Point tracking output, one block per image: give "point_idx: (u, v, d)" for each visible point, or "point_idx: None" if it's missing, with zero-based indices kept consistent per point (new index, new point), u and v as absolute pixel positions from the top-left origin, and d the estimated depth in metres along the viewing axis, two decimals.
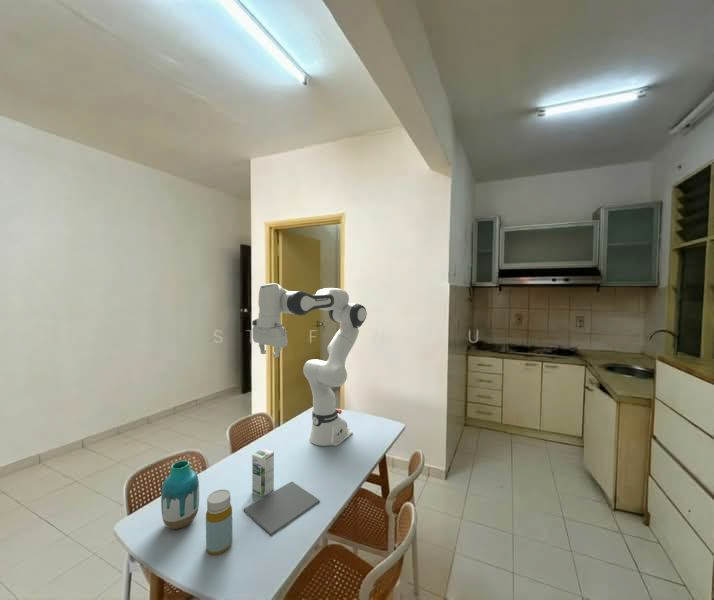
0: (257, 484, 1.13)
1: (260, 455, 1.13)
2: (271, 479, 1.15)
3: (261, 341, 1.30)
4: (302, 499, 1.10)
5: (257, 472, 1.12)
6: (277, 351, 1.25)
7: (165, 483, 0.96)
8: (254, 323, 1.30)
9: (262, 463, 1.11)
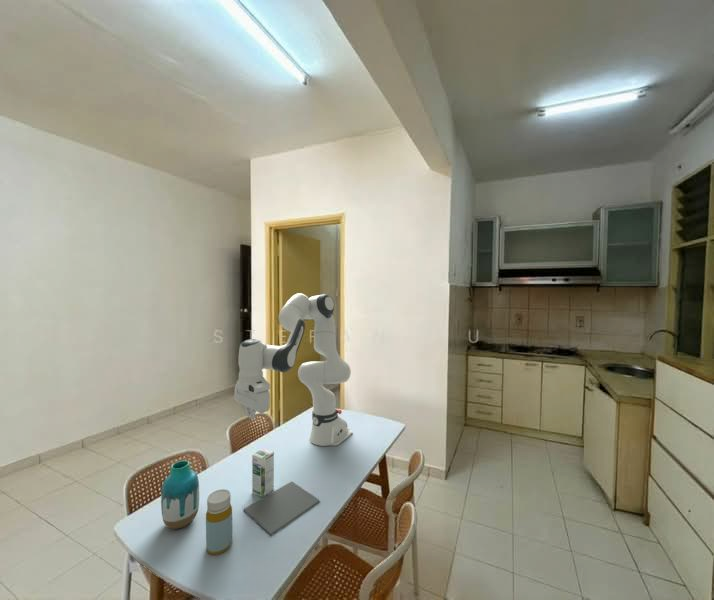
0: (257, 484, 1.13)
1: (260, 455, 1.13)
2: (271, 479, 1.15)
3: None
4: (302, 499, 1.10)
5: (257, 472, 1.12)
6: None
7: (165, 483, 0.96)
8: None
9: (262, 463, 1.11)
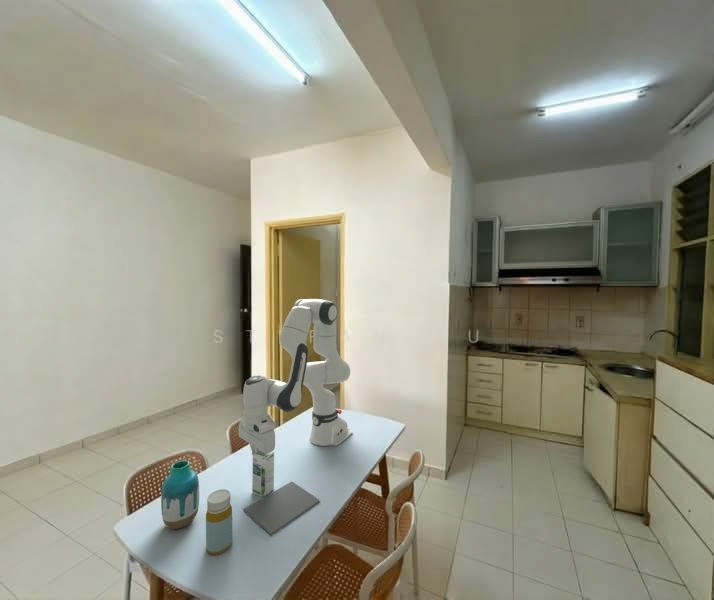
0: (257, 484, 1.13)
1: (260, 456, 1.12)
2: (271, 479, 1.15)
3: None
4: (302, 499, 1.10)
5: (258, 472, 1.12)
6: None
7: (165, 483, 0.96)
8: None
9: (263, 463, 1.11)
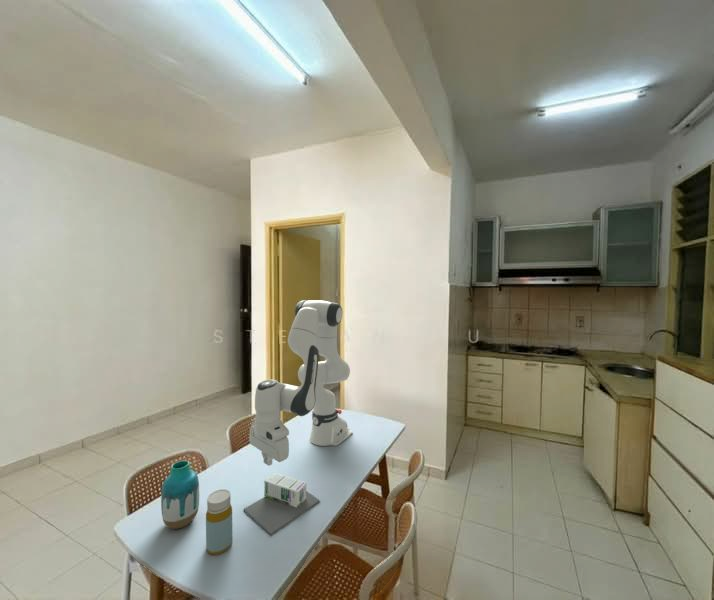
0: (272, 491, 1.10)
1: (298, 500, 1.06)
2: None
3: None
4: None
5: (283, 496, 1.08)
6: None
7: (165, 483, 0.96)
8: None
9: (293, 506, 1.06)
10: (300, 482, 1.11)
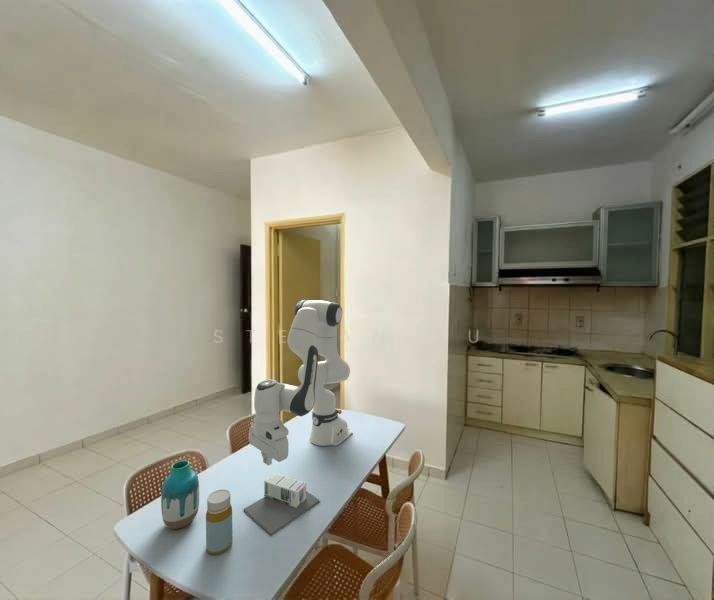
0: (272, 491, 1.10)
1: (298, 500, 1.06)
2: None
3: None
4: None
5: (283, 496, 1.08)
6: None
7: (165, 483, 0.96)
8: None
9: (293, 506, 1.06)
10: (300, 482, 1.10)
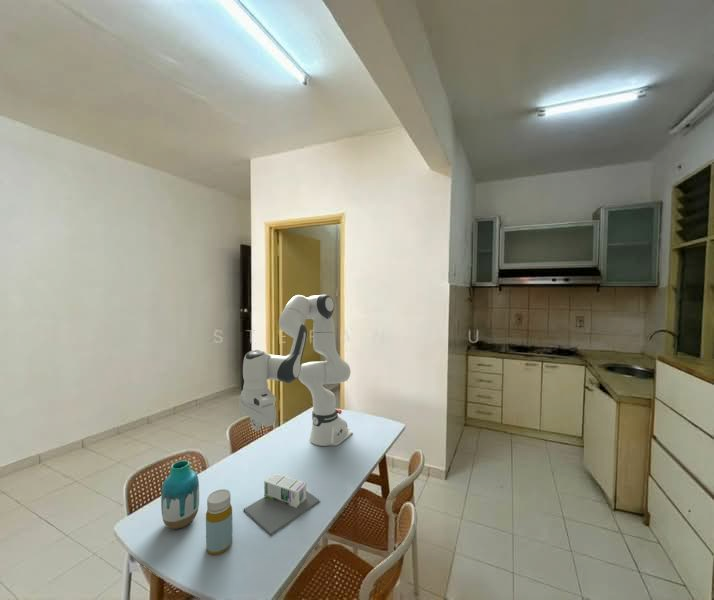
0: (272, 491, 1.10)
1: (298, 500, 1.06)
2: None
3: None
4: None
5: (283, 496, 1.08)
6: None
7: (165, 483, 0.96)
8: None
9: (293, 506, 1.06)
10: (300, 482, 1.10)
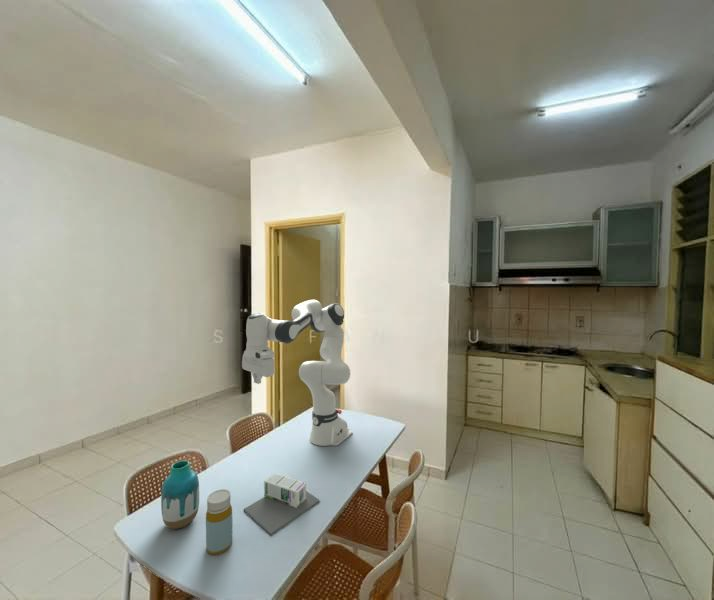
0: (272, 491, 1.10)
1: (298, 500, 1.06)
2: None
3: None
4: None
5: (283, 496, 1.08)
6: None
7: (165, 483, 0.96)
8: None
9: (293, 506, 1.06)
10: (300, 482, 1.10)
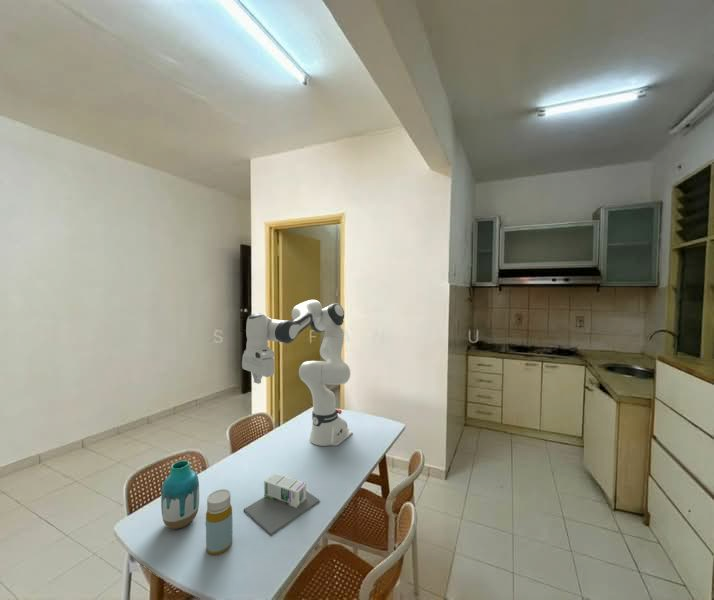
0: (272, 491, 1.10)
1: (298, 500, 1.06)
2: None
3: None
4: None
5: (283, 496, 1.08)
6: None
7: (165, 483, 0.96)
8: None
9: (293, 506, 1.06)
10: (300, 482, 1.10)
